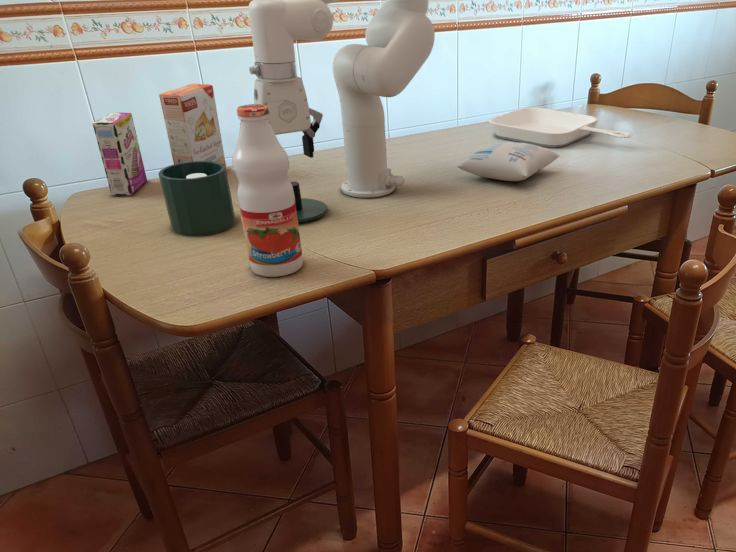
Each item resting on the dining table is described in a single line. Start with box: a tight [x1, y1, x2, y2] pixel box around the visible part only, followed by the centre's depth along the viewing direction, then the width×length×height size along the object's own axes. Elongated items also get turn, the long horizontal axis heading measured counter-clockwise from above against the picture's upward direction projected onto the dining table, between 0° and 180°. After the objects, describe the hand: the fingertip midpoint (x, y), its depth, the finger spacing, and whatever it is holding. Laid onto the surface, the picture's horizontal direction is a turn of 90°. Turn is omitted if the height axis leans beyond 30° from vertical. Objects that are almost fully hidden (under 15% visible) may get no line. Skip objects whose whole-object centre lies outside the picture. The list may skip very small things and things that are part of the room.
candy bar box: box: [92, 112, 148, 197], centre depth 152 cm, size 11×5×16 cm, turn 5°
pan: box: [488, 106, 633, 148], centre depth 197 cm, size 27×42×5 cm, turn 54°
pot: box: [158, 161, 236, 237], centre depth 135 cm, size 12×12×12 cm
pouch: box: [455, 141, 561, 182], centre depth 165 cm, size 8×19×20 cm
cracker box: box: [158, 83, 227, 170], centre depth 159 cm, size 14×6×21 cm, turn 168°
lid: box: [290, 181, 328, 223], centre depth 142 cm, size 14×14×7 cm
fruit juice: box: [231, 103, 304, 278], centre depth 113 cm, size 9×9×28 cm
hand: (287, 159), depth 137 cm, fingers open, 9 cm apart
